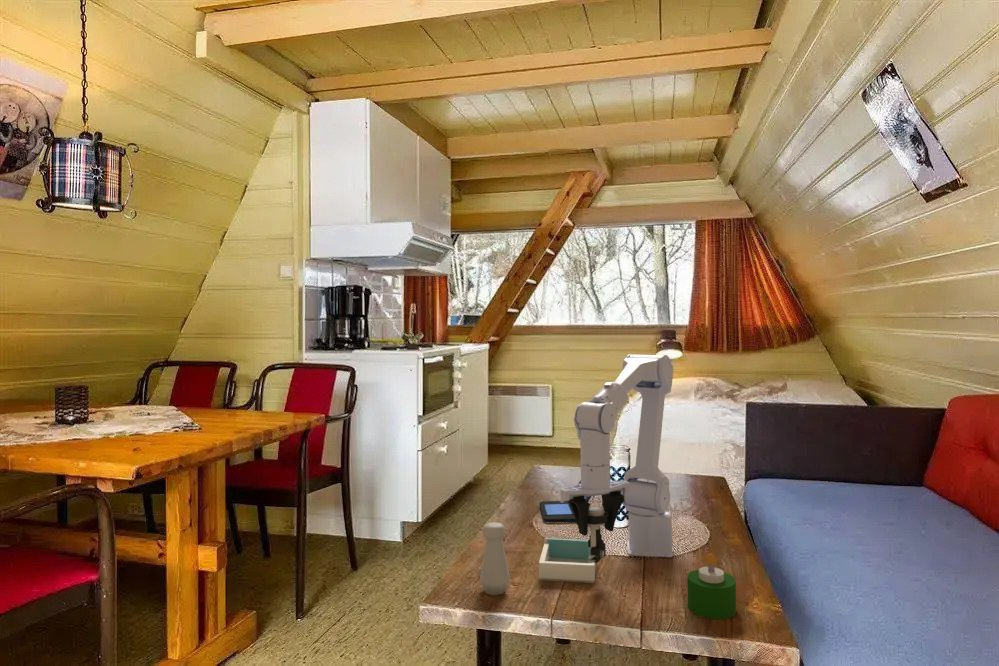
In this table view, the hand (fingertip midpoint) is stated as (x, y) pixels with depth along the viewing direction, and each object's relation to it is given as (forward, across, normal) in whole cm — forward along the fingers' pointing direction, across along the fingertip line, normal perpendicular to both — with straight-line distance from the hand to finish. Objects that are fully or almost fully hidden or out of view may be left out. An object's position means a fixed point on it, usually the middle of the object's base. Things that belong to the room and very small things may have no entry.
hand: (596, 531), depth 124 cm
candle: (+11, -14, +17) cm, 24 cm away
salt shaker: (+10, +20, -5) cm, 23 cm away
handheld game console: (+11, -15, -42) cm, 46 cm away
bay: (+10, +2, -8) cm, 13 cm away
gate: (+10, -1, -13) cm, 17 cm away
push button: (+6, 0, 0) cm, 6 cm away
